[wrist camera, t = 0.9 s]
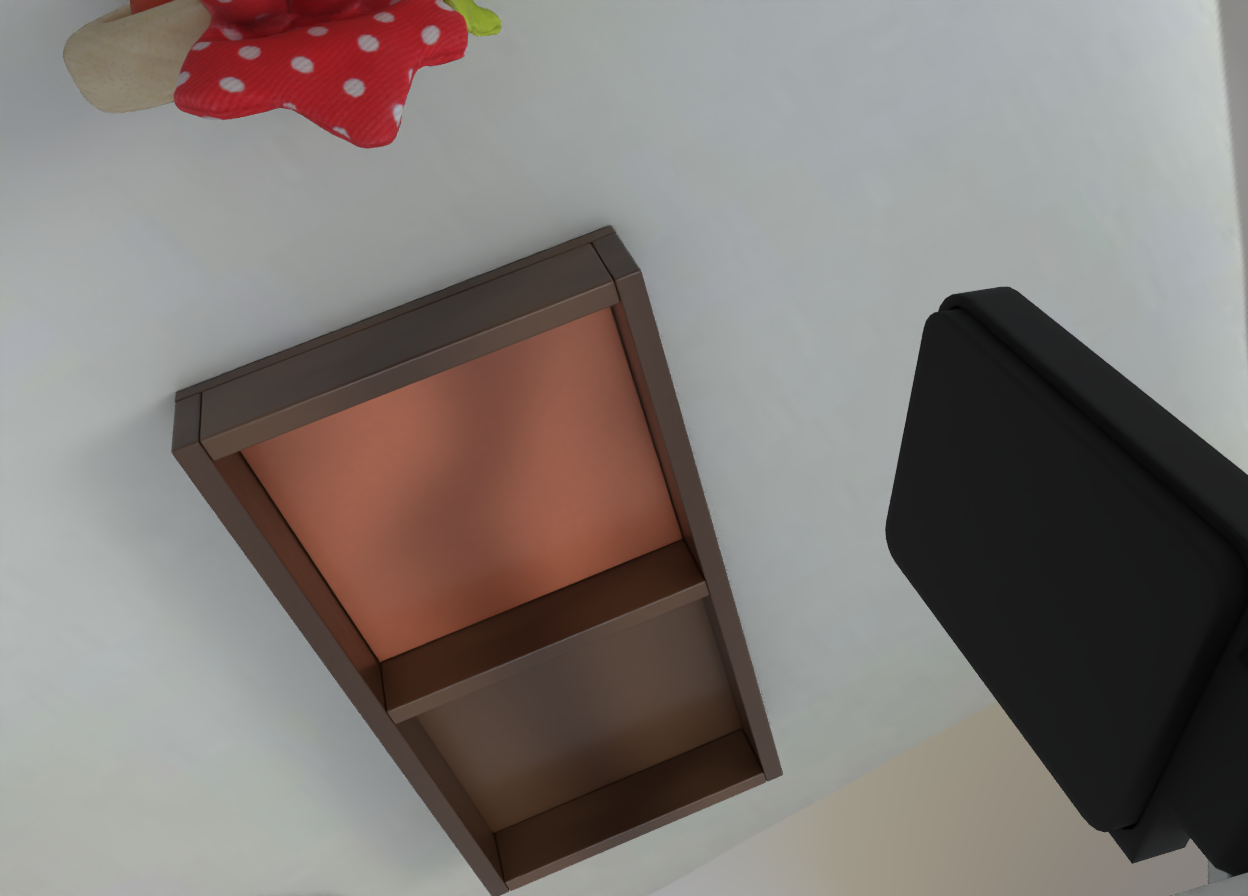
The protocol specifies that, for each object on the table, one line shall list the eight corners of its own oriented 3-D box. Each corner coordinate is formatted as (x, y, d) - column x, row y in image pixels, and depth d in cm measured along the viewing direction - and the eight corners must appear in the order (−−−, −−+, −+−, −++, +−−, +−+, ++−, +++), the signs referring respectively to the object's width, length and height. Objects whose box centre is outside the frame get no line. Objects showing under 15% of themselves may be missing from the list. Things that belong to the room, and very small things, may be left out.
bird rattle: (282, 94, 28) (587, -19, 25) (96, 361, 20) (505, 242, 18) (127, -146, 24) (468, -315, 21) (-177, 71, 16) (294, -146, 14)
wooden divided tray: (611, 224, 31) (641, 269, 29) (757, 722, 48) (783, 775, 46) (174, 392, 30) (169, 452, 28) (480, 838, 47) (492, 899, 45)
